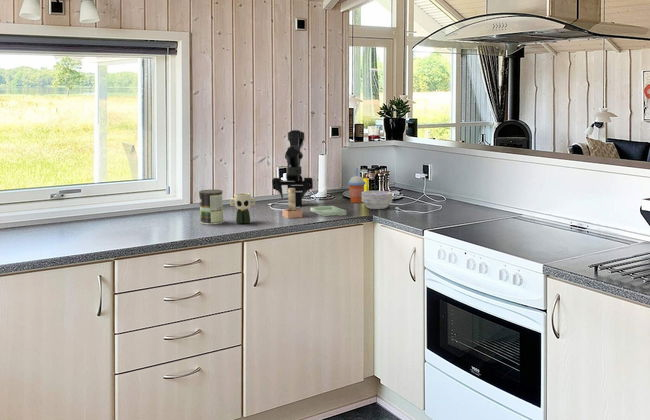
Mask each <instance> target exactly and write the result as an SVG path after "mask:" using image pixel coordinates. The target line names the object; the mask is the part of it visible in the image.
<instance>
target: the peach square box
mask: <svg viewBox="0 0 650 420" xmlns="http://www.w3.org/2000/svg"><path fill="white" fill-rule="evenodd" d="M281 211H282V214H281V215H282V217H284V218H286V219H296V218H303V210H302V209H299V208H296V211H290V212H289V208H285V209H282V210H281Z"/></svg>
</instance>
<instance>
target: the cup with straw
mask: <svg viewBox="0 0 650 420" xmlns="http://www.w3.org/2000/svg"><path fill="white" fill-rule="evenodd" d="M358 170H359V169H358V167H355V175H353V176H352V177H350V179H349V181H347V184H348V187H349V188H348V190H349V198H350V203H352V204H361V203H363V202H362V192H364V191H365V185H366V181H365V180H364V178H363V177H362V176H360V175H359V174H358Z"/></svg>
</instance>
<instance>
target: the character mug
mask: <svg viewBox="0 0 650 420" xmlns="http://www.w3.org/2000/svg"><path fill="white" fill-rule="evenodd" d="M233 196H234V197H231V198H229V205H230V207H231V206H232V207H233V206H234V208H235V210H236V209H237V211H236V218H235V219H236V220H235V221H236V223H237V224H243V223H244V224H248V223H250V222H251V215H250V210H249V209H251V206H255V205H256V198H255V197H251V193H248V192H238V193H234V194H233ZM233 201H234V202H233ZM251 201H252V202H251Z"/></svg>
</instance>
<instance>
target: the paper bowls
mask: <svg viewBox="0 0 650 420" xmlns="http://www.w3.org/2000/svg"><path fill="white" fill-rule="evenodd" d="M361 203H364V204H365V207H366V208H368V209H371V210H384V209H387V208H388V207H389V206H390V205H389V204H392V203H393V192H392V191H387V190H364V192H362V202H361Z"/></svg>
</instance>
